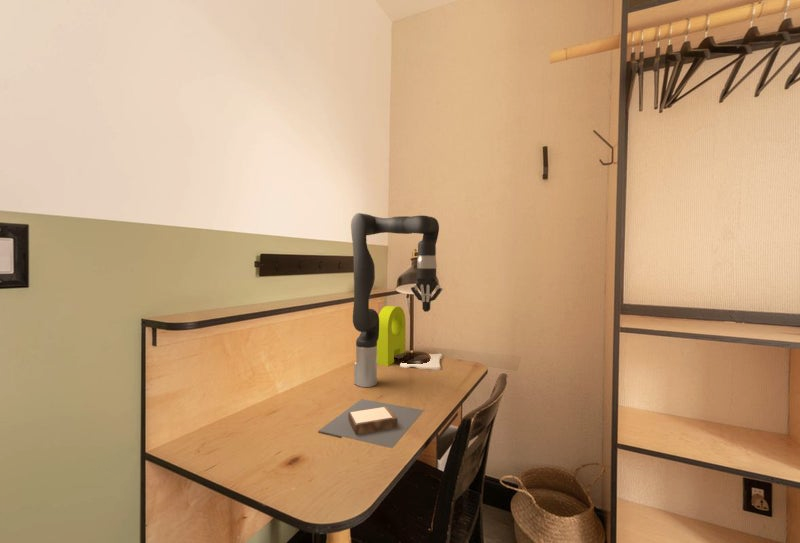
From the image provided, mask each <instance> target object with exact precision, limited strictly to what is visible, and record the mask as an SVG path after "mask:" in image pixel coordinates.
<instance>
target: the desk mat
mask: <svg viewBox="0 0 800 543" xmlns="http://www.w3.org/2000/svg"><path fill="white" fill-rule="evenodd" d="M385 406H388V407H389V409H390V410H391V411H392V412H393V413H394V415H395V416H396V417H397V427H395V428H390V429H384V430H379V431H373V432H367V433H362V434H356V435H355V433H354V431H353V429H352V427H351V425H350V423H349V421H348V412H353V411H359V410H366V409H372V408H379V407H385ZM424 411H425V410H424V409H419V408H413V407H408V406H404V405H397V404H391V403H385V402H381V401H375V400H369V399H364V398H360V399H359V400H358V401H357V402H355V403H354V404H352V405H351V406H349V408H347V409H345V411H343V412H341V413H340V414H339V415H338V416H336V417H335V418H333V419H332V420H331V421H329V422H328V423H327V424H325V425H324V426H322V428H320V429H318V430H317V431H318V432H317V433H320V434H323V435H330V436H333V437H336V438H337V437H338V438H341V439H342V438H348V439H351V440H352V439H353V440H356V441H360V442H365V443H369V444H374V445H376V446H381V447H385V448H390V449H393V448H394V447H395V446H396V445H397V443H398V442H399V441H400V440H401V438H402V437H403V436H404V435H405V434H406V432H407V431H408V430H409V429H410V428H411V427H412V425H413V424H414V423H415V422H416V421H417V420H418V418H419V417H420V416H421V415H422V413H423V412H424Z"/></svg>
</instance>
